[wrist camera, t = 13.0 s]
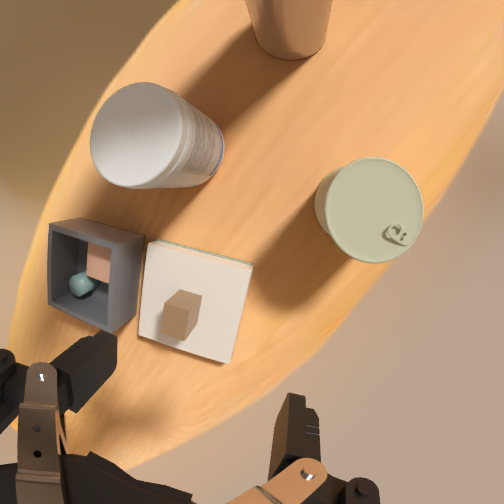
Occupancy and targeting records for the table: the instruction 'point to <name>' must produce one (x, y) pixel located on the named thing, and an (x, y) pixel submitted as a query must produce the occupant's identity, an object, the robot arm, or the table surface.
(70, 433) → the table surface
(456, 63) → the table surface
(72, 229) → the box
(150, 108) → the supplement tub
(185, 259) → the lid
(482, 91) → the table surface
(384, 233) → the can
